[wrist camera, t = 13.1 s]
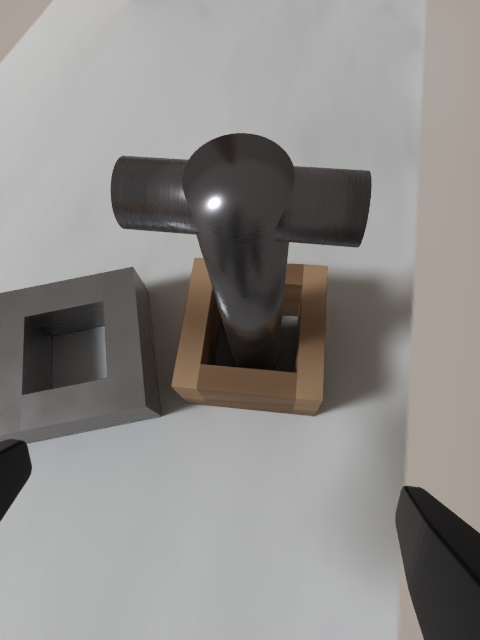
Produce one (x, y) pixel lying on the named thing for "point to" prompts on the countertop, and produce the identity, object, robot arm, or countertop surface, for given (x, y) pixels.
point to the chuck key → (244, 223)
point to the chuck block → (36, 357)
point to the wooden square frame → (243, 383)
